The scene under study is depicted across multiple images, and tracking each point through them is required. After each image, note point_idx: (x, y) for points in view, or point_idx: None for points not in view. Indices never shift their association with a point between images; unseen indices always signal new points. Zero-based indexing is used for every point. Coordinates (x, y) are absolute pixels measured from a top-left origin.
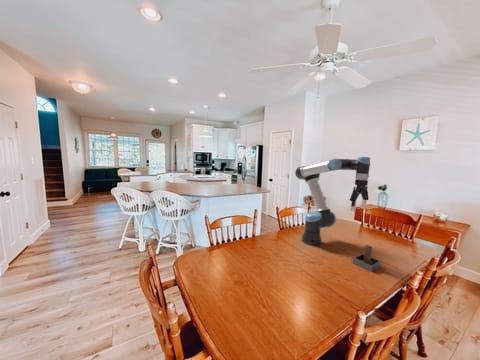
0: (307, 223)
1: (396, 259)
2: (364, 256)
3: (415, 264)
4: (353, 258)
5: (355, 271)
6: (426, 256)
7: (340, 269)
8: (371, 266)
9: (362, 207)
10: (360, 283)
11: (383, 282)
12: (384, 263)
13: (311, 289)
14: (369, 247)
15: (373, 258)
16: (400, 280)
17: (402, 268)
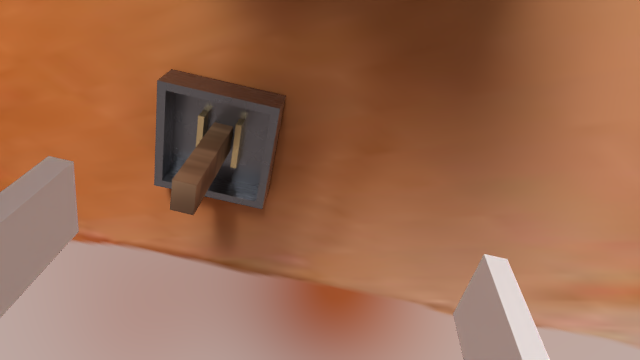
0: None
1: (446, 237)
2: (200, 142)
3: (448, 299)
4: (158, 83)
5: (95, 107)
6: (613, 335)
7: (32, 39)
8: (156, 178)
9: (478, 296)
10: (13, 149)
11: (122, 216)
12: (334, 198)
13: None
14: (172, 201)
15: (263, 173)
16: (207, 260)
17: (345, 261)
